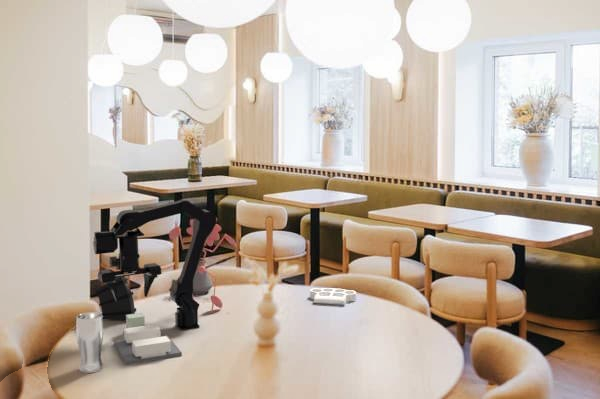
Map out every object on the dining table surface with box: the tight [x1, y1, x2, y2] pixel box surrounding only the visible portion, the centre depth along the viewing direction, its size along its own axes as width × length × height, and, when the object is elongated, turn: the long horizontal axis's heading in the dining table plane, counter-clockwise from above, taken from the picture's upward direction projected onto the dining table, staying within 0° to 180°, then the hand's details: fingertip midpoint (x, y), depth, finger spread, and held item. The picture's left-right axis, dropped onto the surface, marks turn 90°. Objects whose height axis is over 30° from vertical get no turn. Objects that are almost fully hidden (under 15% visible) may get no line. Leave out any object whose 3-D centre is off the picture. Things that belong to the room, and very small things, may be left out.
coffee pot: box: [193, 254, 238, 295], centre depth 249 cm, size 21×12×15 cm, turn 89°
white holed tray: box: [309, 287, 357, 306], centre depth 239 cm, size 3×18×15 cm
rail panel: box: [113, 324, 183, 366], centre depth 185 cm, size 16×18×5 cm
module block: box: [125, 312, 146, 328], centre depth 199 cm, size 5×4×6 cm
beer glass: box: [75, 311, 104, 374], centre depth 170 cm, size 7×7×15 cm
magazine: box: [94, 276, 137, 322], centre depth 214 cm, size 4×13×15 cm, turn 82°
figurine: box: [168, 218, 238, 315], centre depth 227 cm, size 15×26×35 cm, turn 81°
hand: (131, 299), depth 198 cm, fingers open, 9 cm apart
